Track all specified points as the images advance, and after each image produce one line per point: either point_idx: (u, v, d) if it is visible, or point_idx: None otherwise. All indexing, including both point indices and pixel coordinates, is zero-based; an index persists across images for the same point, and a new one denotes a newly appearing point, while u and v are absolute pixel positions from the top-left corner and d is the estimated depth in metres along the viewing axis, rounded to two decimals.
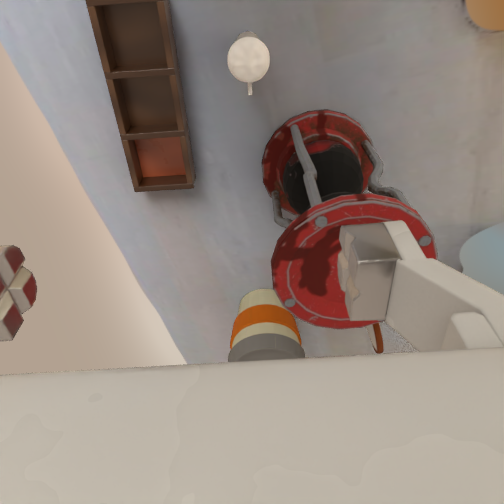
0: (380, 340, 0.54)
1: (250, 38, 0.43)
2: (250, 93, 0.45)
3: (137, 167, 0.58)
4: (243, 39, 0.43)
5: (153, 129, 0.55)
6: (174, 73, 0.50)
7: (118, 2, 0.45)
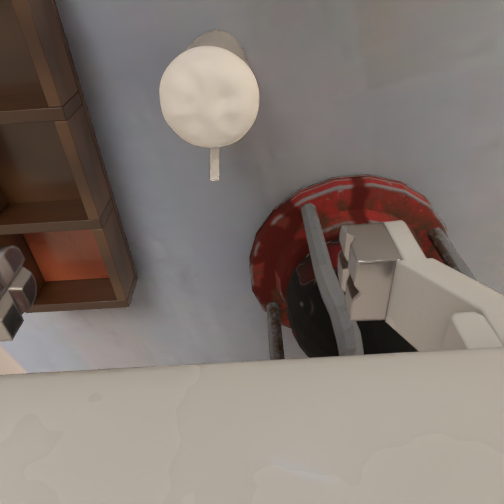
0: None
1: (211, 50, 0.18)
2: (214, 176, 0.19)
3: None
4: (193, 52, 0.18)
5: (45, 214, 0.29)
6: (64, 117, 0.24)
7: None
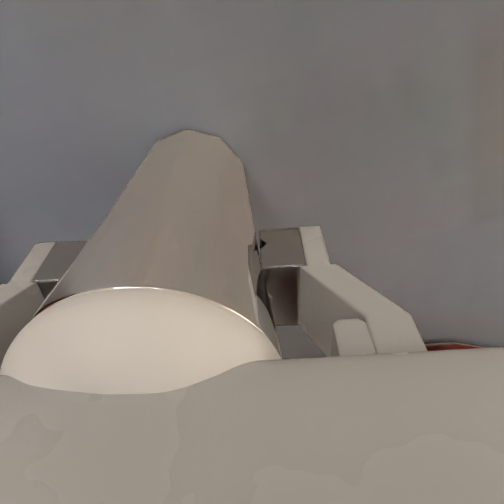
0: None
1: (139, 313, 0.05)
2: None
3: None
4: (83, 322, 0.05)
5: None
6: None
7: None
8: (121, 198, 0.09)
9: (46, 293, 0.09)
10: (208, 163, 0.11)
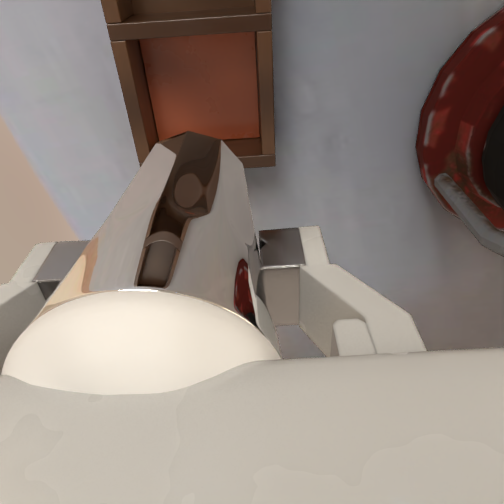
0: None
1: (140, 316, 0.05)
2: None
3: (148, 117, 0.25)
4: (84, 325, 0.05)
5: (191, 15, 0.22)
6: None
7: None
8: (122, 200, 0.09)
9: (46, 293, 0.09)
10: (209, 165, 0.11)
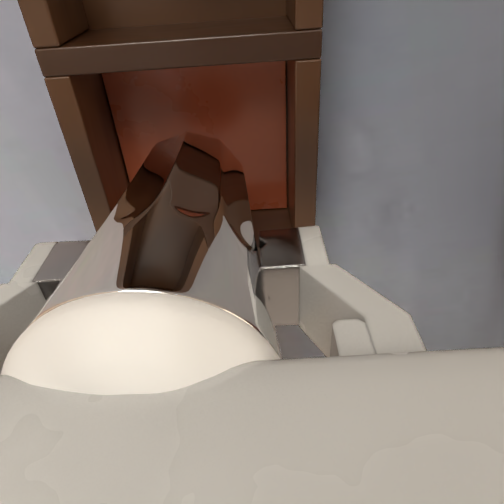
0: None
1: (139, 317, 0.05)
2: None
3: (118, 186, 0.16)
4: (83, 326, 0.05)
5: (182, 32, 0.13)
6: None
7: None
8: (121, 200, 0.09)
9: (47, 293, 0.09)
10: (208, 165, 0.11)
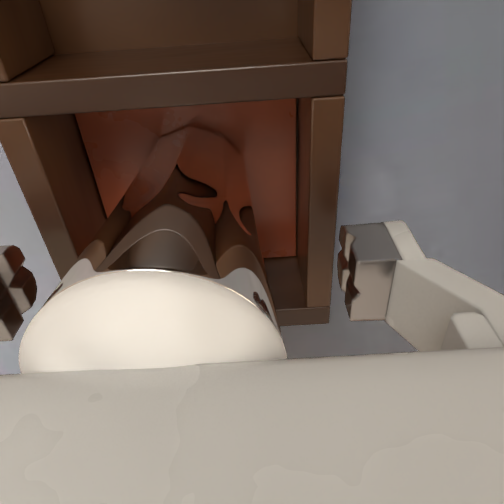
0: None
1: (150, 293, 0.06)
2: None
3: None
4: (98, 301, 0.06)
5: (167, 60, 0.10)
6: None
7: None
8: (129, 191, 0.10)
9: None
10: (211, 158, 0.11)
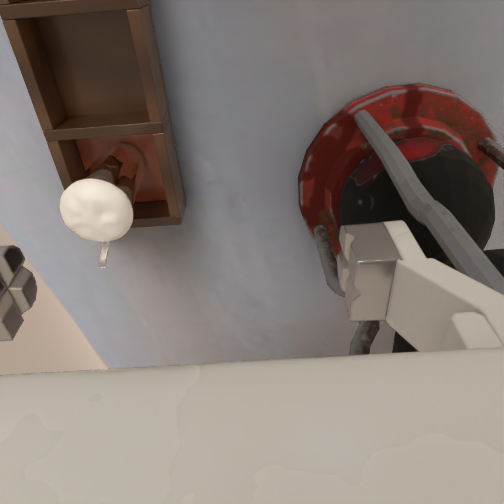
0: None
1: (91, 182, 0.26)
2: (102, 264, 0.27)
3: None
4: (79, 184, 0.26)
5: (106, 121, 0.30)
6: (137, 6, 0.25)
7: None
8: (92, 164, 0.29)
9: None
10: (123, 154, 0.31)
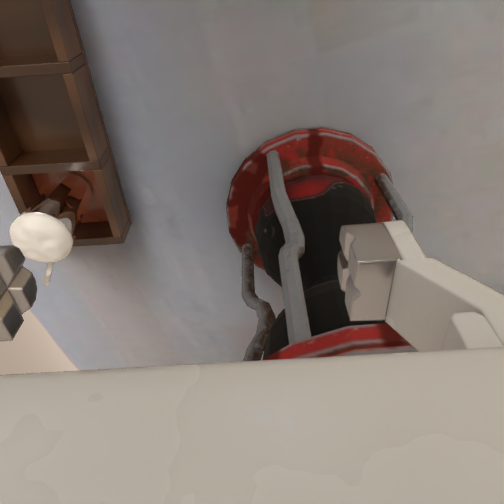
0: None
1: (34, 216, 0.31)
2: (46, 282, 0.33)
3: None
4: (24, 217, 0.31)
5: (53, 158, 0.35)
6: (71, 70, 0.30)
7: None
8: (40, 196, 0.35)
9: None
10: (69, 185, 0.36)
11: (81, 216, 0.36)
